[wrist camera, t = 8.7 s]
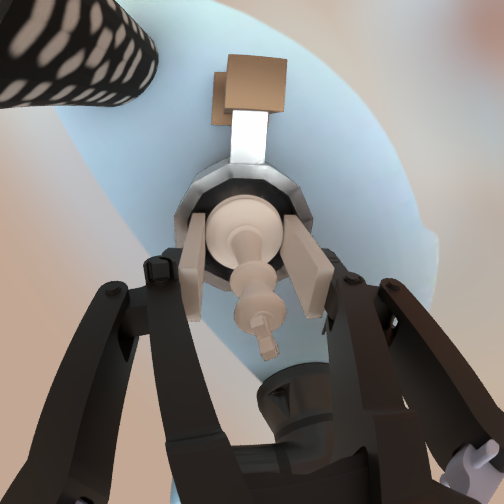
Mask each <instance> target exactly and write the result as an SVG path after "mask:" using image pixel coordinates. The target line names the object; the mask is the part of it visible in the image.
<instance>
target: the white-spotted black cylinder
mask: <svg viewBox="0 0 504 504" xmlns="http://www.w3.org/2000/svg"><path fill="white" fill-rule="evenodd" d="M157 66H158V51H157V47H156V45H155V43H154V42H153V40H152V39H151V38H150V37H149V36H148V35H147V34H146V33H145V32H144V30H143V29H142V28H141V27H140V26H139V25H138V24H137V23H136V22H135V21H134V20H133V19H132V18H131V17H130V16H129V14H128V13H127V12H126V11H125V10H124V9H123V8H122V7H121V6H120V5H119V4H118V3H117V2H116V1H115V0H0V109H4V108H14V107H29V106H60V105H67V106H100V107H115V106H120V105H123V104H126V103H128V102H130V101H132V100H133V99H135V98H137V97H138V96H139V95H140V94H141V93H142V92H144V90H145V89H146V88H147V87H148V86H149V84H150V83H151V81H152V80H153V78H154V75H155V73H156V71H157Z"/></svg>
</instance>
